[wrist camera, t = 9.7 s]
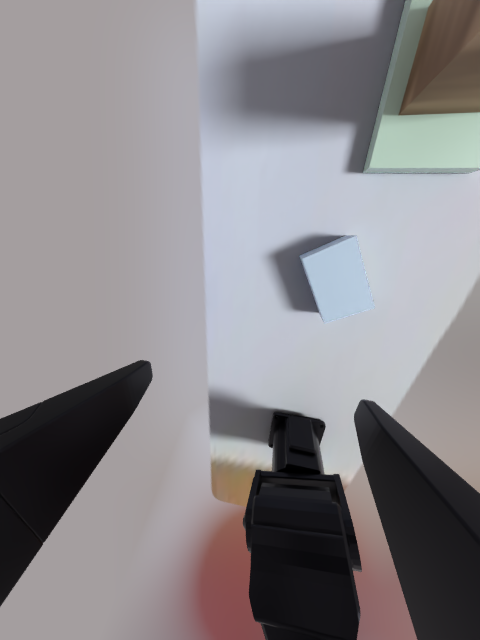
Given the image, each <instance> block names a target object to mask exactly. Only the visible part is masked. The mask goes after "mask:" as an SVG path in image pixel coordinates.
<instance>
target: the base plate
mask: <svg viewBox="0 0 480 640" xmlns="http://www.w3.org/2000/svg"><path fill="white" fill-rule="evenodd" d="M432 1H433V0H405V4H404V8H403V12H402V16H401V20H400V24H399V28H398V32H397V36H396V40H395V44H394V48H393V52H392V57H391V61H390V65H389V69H388V73H387V77H386V81H385V85H384V89H383V93H382V97H381V101H380V105H379V109H378V113H377V117H376V122H375V126H374V130H373V134H372V138H371V142H370V146H369V150H368V154H367V158H366V162H365V166H364V170H363V173H472V172H475V171H478V170H480V112H474V113H449V114H424V115H400V116H398V115H399V112H400V108H401V104H402V101H403V97H404V94H405V90H406V86H407V83H408V79H409V76H410V72H411V69H412V65H413V61H414V58H415V54H416V51H417V47H418V43H419V40H420V36H421V33H422V29H423V25H424V22H425V18H426V15H427V11H428V7H429V6H430V4H431V2H432Z"/></svg>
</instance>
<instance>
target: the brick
mask: <svg viewBox="0 0 480 640" xmlns="http://www.w3.org/2000/svg"><path fill="white" fill-rule="evenodd" d="M299 257H300V260H301V262H302V265H303V268H304V271H305V274H306V277H307V280H308V282H309V285H310V288H311V291H312V294H313V297H314V300H315V302H316V305H317V308H318V311H319V314H320V316H321V318H322V320H323V322H324V324H325V323H329V322H332V321H335V320H338V319H342V318H345V317H348V316H351V315H355V314H358V313H361V312H364V311H367V310H371V309H374V308H375V306H374V302H373V298H372V294H371V290H370V286H369V283H368V279H367V275H366V271H365V267H364V263H363V259H362V255H361V251H360V248H359V244H358V240H357V236H343V237H341V238H339V239H336V240H334V241H332V242H330V243H327V244H325V245H323V246H320V247H318V248H316V249H314V250H311V251H309V252H307V253H304V254H302V255H300V256H299Z"/></svg>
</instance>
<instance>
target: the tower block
mask: <svg viewBox="0 0 480 640" xmlns="http://www.w3.org/2000/svg"><path fill="white" fill-rule="evenodd" d="M474 112H480V0H433V1H432V2H431V4H430V6H429V7H428V11H427V15H426V18H425V22H424V25H423V29H422V33H421V36H420V40H419V43H418V47H417V51H416V54H415V58H414V61H413V65H412V69H411V72H410V76H409V79H408V83H407V86H406V90H405V94H404V97H403V101H402V104H401V108H400V112H399V115H398V116H400V115H424V114H449V113H474Z"/></svg>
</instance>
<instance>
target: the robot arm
mask: <svg viewBox="0 0 480 640" xmlns="http://www.w3.org/2000/svg"><path fill="white" fill-rule="evenodd" d="M151 381H152V369H151V363H150V362H149V361H144V360H140V361H137V362H135V363H132V364H130V365H128V366H125V367H123V368H121V369H118V370H116V371H114V372H111V373H109V374H106V375H104V376H102V377H99V378H97V379H95V380H92V381H90V382H88V383H85V384H83V385H80V386H78V387H76V388H73V389H71V390H69V391H66V392H64V393H61V394H59V395H57V396H54V397H52V398H49V399H47V400H45V401H43V402H40V403H38V404H35V405H33V406H30V407H28V408H26V409H24V410H21V411H18V412H16V413H13V414H11V415H9V416H6V417H4V418H1V419H0V606H1V605H2V603H3V602H4V600H5V599H6V597H7V596H8V595H9V593H10V592H11V590H12V588H13V587H14V586H15V584H16V583H17V582H18V580H19V579H20V577H21V576H22V574H23V573H24V571H25V570H26V568H27V567H28V566H29V564H30V563H31V561H32V560H33V558H34V556H35V555H36V554H37V552H38V551H39V550H40V548H41V547H42V545H43V542H45V541H46V539H47V538H48V536H49V535H50V533H51V532H52V530H53V529H54V527H55V526H56V525H57V523H58V522H59V520H60V519H61V517H62V516H63V514H64V513H65V511H66V510H67V508H68V507H69V506H70V504H71V503H72V501H73V500H74V498H75V497H76V495H77V494H78V493H79V491H80V490H81V488H82V487H83V485H84V484H85V482H86V481H87V480H88V478H89V477H90V475H91V474H92V472H93V471H94V469H95V468H96V466H97V465H98V464H99V462H100V461H101V459H102V458H103V456H104V455H105V453H106V452H107V450H108V449H109V448H110V446H111V445H112V443H113V442H114V440H115V439H116V437H117V436H118V434H119V433H120V432H121V430H122V429H123V427H124V426H125V424H126V423H127V421H128V420H129V419H130V417H131V416H132V414H133V413H134V411H135V409H136V408H137V406H138V404H139V402H140V400H141V399H142V397H143V395H144V393H145V391H146V390H147V388H148V386H149V384H150V383H151ZM354 422H355V427H356V432H357V437H358V442H359V446H360V451H361V456H362V460H363V464H364V467H365V471H366V474H367V477H368V481H369V484H370V487H371V490H372V494H373V497H374V500H375V503H376V507H377V510H378V513H379V516H380V519H381V523H382V526H383V529H384V532H385V536H386V539H387V542H388V545H389V549H390V552H391V555H392V558H393V562H394V565H395V568H396V571H397V575H398V578H399V581H400V584H401V587H402V591H403V594H404V597H405V600H406V604H407V607H408V610H409V614H410V616H411V620H412V623H413V626H414V630H415V633H416V636H417V639H418V640H480V493H479V492H477V491H476V490H475V489H474V488H473V487H472V486H471V485H469V484H468V483H467V482H466V481H465V480H464V479H462V478H461V477H460V476H459V475H458V474H457V473H456V472H454V471H453V470H452V469H451V468H450V467H449V466H447V465H446V464H445V463H444V462H443V461H442V460H441V459H439V458H438V457H437V456H436V455H435V454H434V453H432V452H431V451H430V450H429V449H428V448H427V447H425V446H424V445H423V444H422V443H421V442H420V441H419V440H417V439H416V438H415V437H414V436H413V435H412V434H410V433H409V432H408V431H407V430H406V429H405V428H404V427H402V426H401V425H400V424H399V423H398V422H397V421H395V420H394V419H393V418H392V417H391V416H390V415H389V414H388V413H386V412H385V411H384V410H383V409H382V408H381V407H379V406H378V405H377V404H376V403H375V402H373V401H369V400H361V401H360V402H359V405H358V407H357V409H356V411H355V414H354ZM324 430H325V423H324V422H323V421H320V420H315V419H310V418H305V417H299V416H294V415H289V414H284V413H279V412H275V413H274V414H273V418H272V424H271V431H270V437H269V447H271V448H273V458H272V471H261V470H256V473H255V477H254V478H253V482H252V486H251V490H250V495H249V499H248V503H247V507H246V512H245V515H244V518H243V526H244V528H245V530H246V543H247V548H248V551H249V552H250V553H251V570H250V585H249V598H250V603H251V607H252V612H253V616H254V619H255V621H256V622H259V623H261V626H262V629H263V632H264V636H265V639H266V640H357V633H358V626H359V620H360V606H359V601H358V596H357V591H356V585H355V580H354V575H353V571H359V572H361V571H362V568H361V561H360V555H359V550H358V545H357V540H356V536H355V532H354V527H353V523H352V519H351V516H350V512H349V508H348V504H347V501H346V497H345V494H344V490H343V486H342V483H341V479H340V476H339V474H334V475H325V474H324V468H323V462H322V457H321V451H320V443H321V440H322V436H323V433H324Z"/></svg>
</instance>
